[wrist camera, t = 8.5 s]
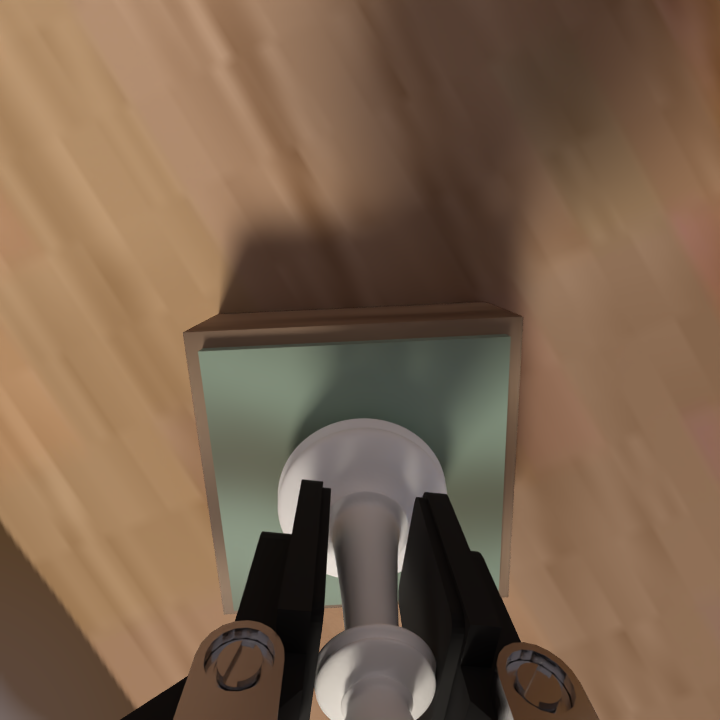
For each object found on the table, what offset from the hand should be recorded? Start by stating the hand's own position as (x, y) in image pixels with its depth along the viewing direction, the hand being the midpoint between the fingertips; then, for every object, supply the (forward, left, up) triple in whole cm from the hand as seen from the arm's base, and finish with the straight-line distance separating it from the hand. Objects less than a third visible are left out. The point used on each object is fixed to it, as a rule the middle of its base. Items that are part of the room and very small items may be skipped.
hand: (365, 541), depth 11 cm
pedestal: (0, 0, -7) cm, 7 cm away
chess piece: (0, 0, -2) cm, 2 cm away
